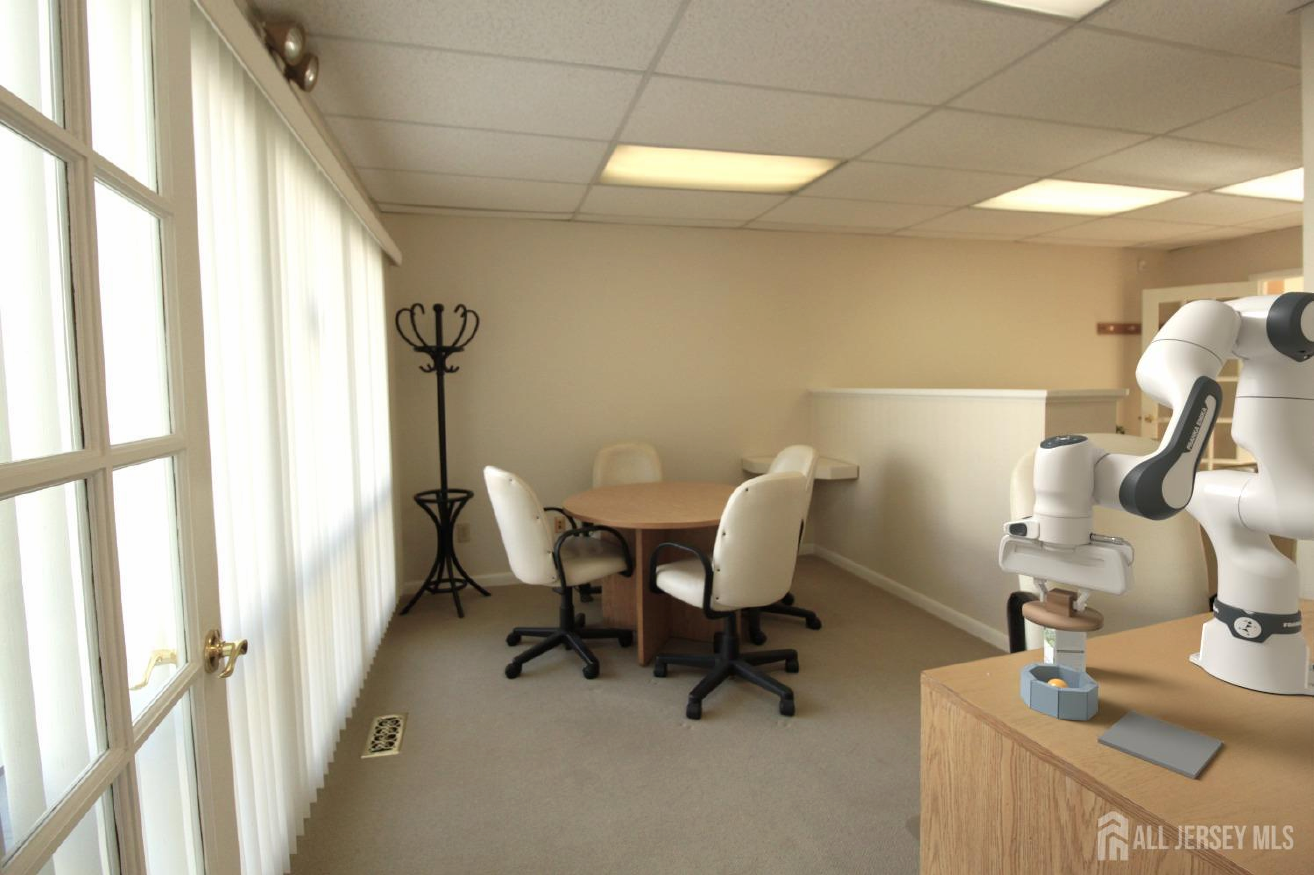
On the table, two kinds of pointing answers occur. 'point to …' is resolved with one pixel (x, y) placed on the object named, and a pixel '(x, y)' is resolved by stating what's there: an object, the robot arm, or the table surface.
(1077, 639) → the syrup box
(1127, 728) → the mat
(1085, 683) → the bowl
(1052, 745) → the table surface
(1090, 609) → the lid
